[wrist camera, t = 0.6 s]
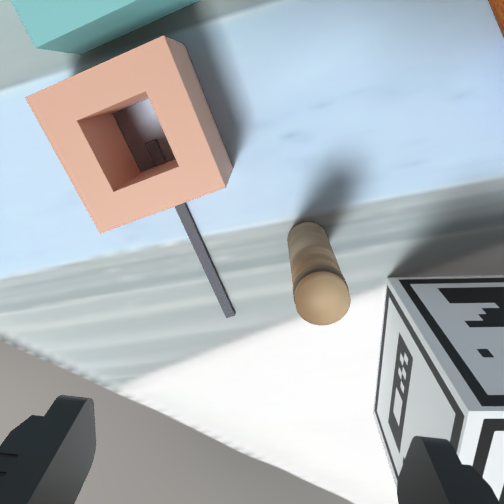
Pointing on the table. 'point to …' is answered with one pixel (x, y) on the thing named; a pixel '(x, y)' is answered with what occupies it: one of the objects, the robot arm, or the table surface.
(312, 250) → the rounded wooden dowel
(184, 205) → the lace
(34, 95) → the bead terracotta
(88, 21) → the bead teal
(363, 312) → the table surface
